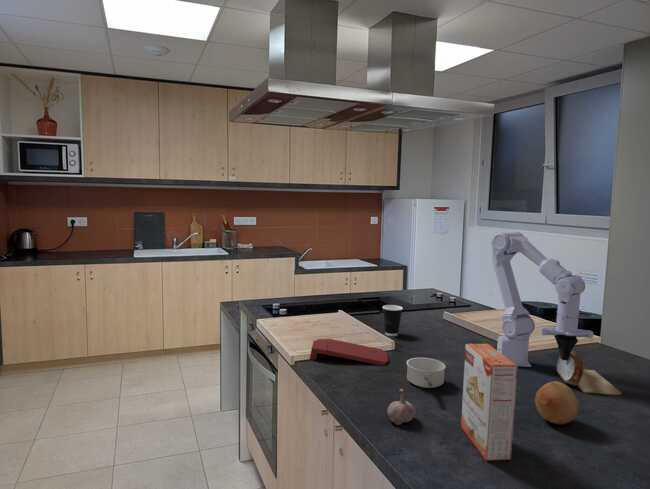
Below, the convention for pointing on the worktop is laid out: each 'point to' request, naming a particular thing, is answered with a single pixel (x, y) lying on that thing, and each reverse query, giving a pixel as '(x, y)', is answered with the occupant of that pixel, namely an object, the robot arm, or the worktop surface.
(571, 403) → the onion
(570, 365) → the tin
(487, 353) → the cracker box
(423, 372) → the white ceramic ramekin
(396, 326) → the dixie cup
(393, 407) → the garlic bulb
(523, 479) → the worktop surface
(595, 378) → the oak board
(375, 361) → the red flat block
